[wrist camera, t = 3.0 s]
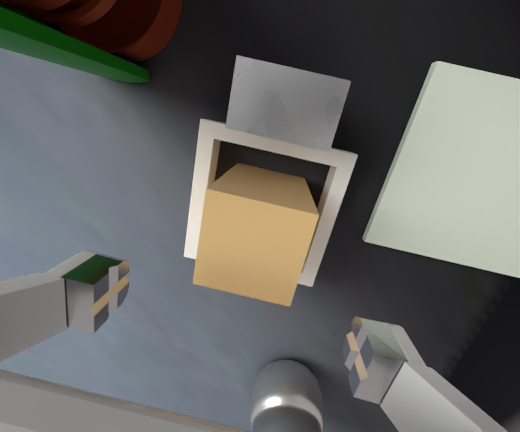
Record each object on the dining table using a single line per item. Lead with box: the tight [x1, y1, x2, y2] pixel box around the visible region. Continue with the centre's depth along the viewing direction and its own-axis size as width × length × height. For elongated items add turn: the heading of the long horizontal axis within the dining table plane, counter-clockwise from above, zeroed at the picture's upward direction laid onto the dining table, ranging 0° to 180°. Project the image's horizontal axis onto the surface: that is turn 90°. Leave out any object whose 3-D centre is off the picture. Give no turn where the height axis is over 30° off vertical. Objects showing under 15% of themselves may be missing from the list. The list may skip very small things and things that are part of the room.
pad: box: [362, 61, 520, 278], centre depth 17 cm, size 12×12×1 cm
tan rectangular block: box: [193, 163, 319, 307], centre depth 15 cm, size 5×5×8 cm
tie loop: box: [184, 55, 358, 287], centre depth 16 cm, size 13×10×6 cm
